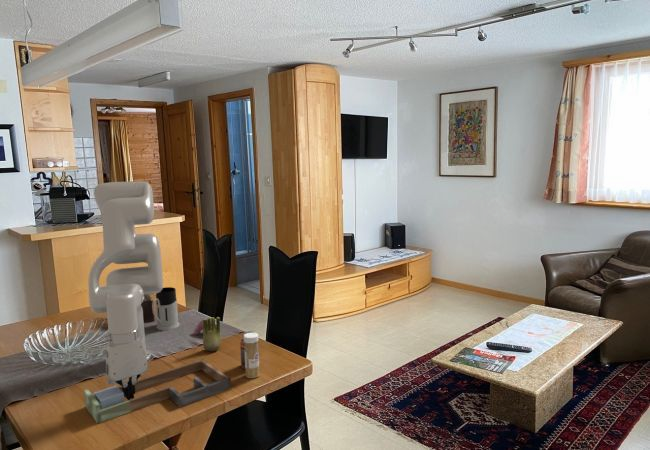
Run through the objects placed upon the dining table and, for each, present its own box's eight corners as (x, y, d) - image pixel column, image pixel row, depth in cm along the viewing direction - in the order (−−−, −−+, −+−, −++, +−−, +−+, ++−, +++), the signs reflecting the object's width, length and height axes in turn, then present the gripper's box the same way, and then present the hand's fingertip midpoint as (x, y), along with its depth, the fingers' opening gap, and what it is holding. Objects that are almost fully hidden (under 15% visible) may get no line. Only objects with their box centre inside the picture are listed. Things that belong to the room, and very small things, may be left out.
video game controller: (219, 340, 184) (224, 322, 186) (211, 339, 181) (216, 320, 182) (200, 335, 189) (205, 317, 191) (192, 334, 186) (197, 315, 187)
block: (95, 409, 134) (93, 392, 133) (117, 401, 138) (116, 385, 137) (102, 418, 130) (100, 401, 129) (125, 410, 134) (123, 393, 133)
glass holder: (183, 322, 199) (181, 287, 197) (165, 336, 185) (162, 298, 183) (163, 321, 201) (161, 286, 198) (144, 334, 187) (141, 296, 185)
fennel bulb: (222, 347, 174) (221, 315, 172) (218, 353, 169) (216, 320, 167) (206, 347, 174) (205, 315, 172) (202, 353, 170) (200, 320, 168)
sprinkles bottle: (256, 379, 149) (254, 338, 147) (242, 378, 151) (240, 336, 149) (262, 373, 154) (260, 332, 152) (249, 371, 155) (247, 331, 153)
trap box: (85, 407, 135) (84, 390, 134) (203, 367, 158) (202, 353, 157) (106, 435, 122) (104, 416, 121) (231, 388, 145) (230, 372, 144)
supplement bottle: (256, 371, 155) (254, 337, 153) (238, 369, 156) (236, 336, 155) (262, 363, 161) (260, 330, 159) (245, 361, 162) (243, 329, 160)
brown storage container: (156, 321, 202) (153, 278, 199) (128, 326, 196) (124, 283, 193) (149, 310, 215) (146, 270, 212) (122, 315, 209) (119, 274, 206)
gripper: (99, 347, 127) (106, 412, 130) (155, 332, 137) (160, 393, 139) (91, 339, 132) (97, 402, 135) (145, 325, 142) (150, 384, 145)
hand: (129, 397), depth 137 cm, fingers closed
